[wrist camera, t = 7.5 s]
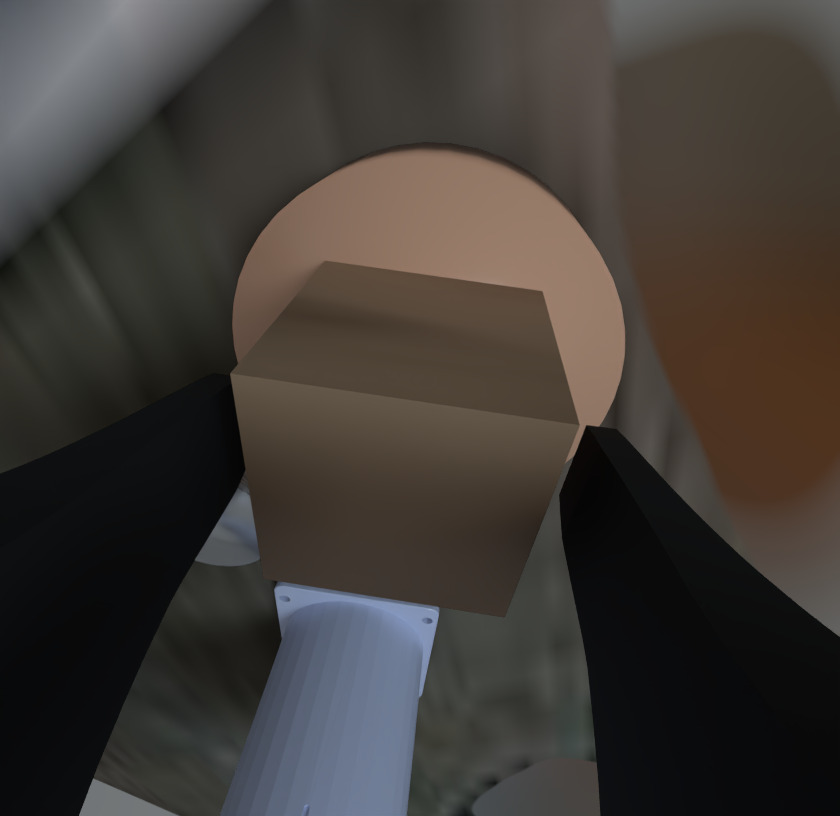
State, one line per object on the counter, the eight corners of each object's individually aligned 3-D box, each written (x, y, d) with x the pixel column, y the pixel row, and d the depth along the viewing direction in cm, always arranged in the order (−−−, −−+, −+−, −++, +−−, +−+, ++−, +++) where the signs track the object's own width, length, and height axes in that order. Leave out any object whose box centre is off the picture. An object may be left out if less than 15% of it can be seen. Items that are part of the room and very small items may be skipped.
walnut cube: (498, 454, 13) (504, 617, 9) (328, 429, 14) (262, 579, 10) (542, 291, 11) (580, 425, 7) (325, 260, 11) (229, 373, 7)
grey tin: (303, 514, 20) (279, 574, 18) (190, 497, 20) (150, 555, 18) (295, 422, 17) (265, 480, 15) (163, 404, 17) (111, 458, 15)
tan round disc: (551, 472, 17) (561, 526, 15) (282, 434, 17) (256, 481, 15) (660, 168, 11) (699, 189, 9) (249, 119, 11) (199, 128, 9)
